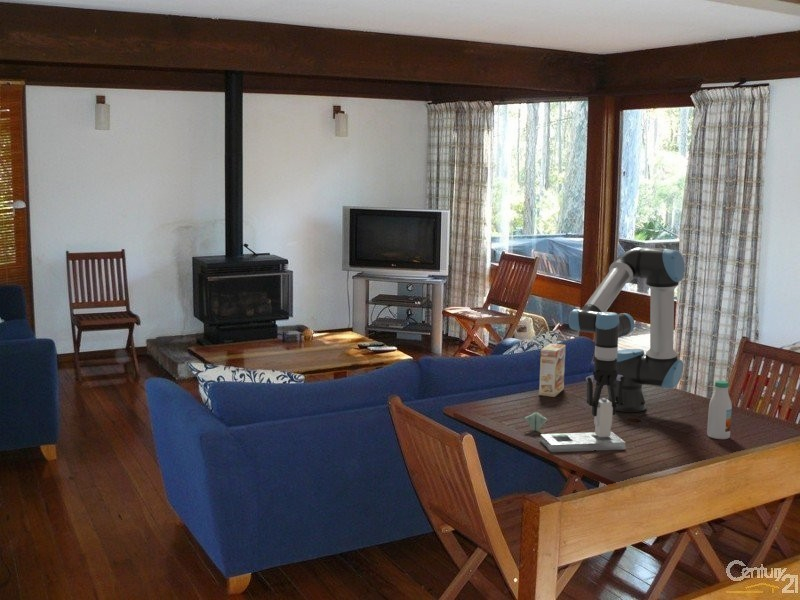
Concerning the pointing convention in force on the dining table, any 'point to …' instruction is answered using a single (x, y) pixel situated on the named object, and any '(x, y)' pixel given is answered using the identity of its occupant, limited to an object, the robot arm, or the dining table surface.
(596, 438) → the panel
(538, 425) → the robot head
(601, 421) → the plug
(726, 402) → the milk bottle
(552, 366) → the coffeecake box
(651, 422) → the dining table surface
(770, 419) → the dining table surface
